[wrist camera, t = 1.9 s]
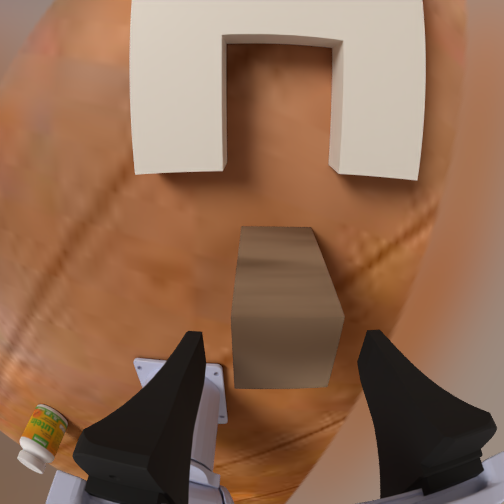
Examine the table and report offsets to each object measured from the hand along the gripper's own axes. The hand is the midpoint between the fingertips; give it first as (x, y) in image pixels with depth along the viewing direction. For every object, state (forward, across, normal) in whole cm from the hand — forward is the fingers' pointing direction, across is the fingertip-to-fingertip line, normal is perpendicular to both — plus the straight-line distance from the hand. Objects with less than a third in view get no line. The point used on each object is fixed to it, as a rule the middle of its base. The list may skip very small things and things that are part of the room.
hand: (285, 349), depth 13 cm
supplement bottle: (+9, +30, +26) cm, 41 cm away
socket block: (+9, 0, -14) cm, 16 cm away
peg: (+9, 0, 0) cm, 9 cm away
